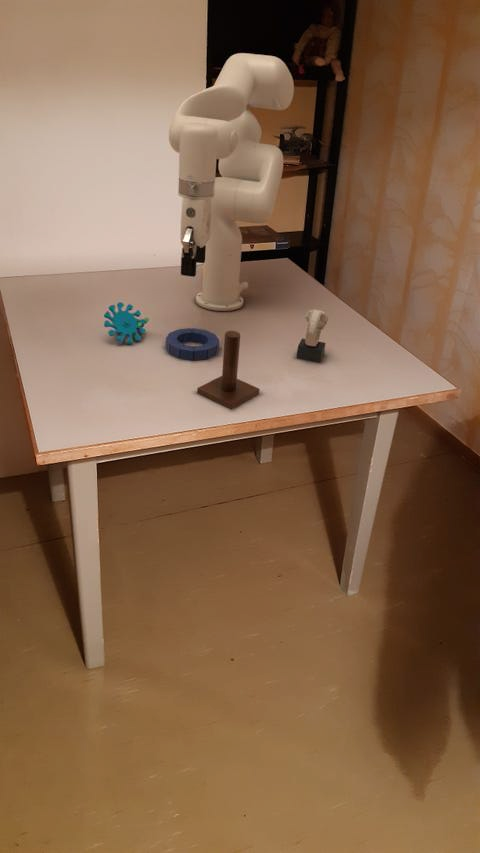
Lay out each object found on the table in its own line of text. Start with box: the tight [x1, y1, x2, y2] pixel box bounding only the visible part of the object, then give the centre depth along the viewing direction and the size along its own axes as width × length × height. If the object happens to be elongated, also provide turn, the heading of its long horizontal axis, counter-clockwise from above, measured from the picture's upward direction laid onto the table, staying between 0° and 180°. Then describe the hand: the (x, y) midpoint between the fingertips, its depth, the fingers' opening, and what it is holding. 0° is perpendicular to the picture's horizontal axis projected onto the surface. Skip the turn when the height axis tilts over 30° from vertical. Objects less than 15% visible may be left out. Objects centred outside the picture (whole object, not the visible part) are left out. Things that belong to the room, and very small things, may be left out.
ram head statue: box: [296, 309, 329, 364], centre depth 150 cm, size 6×8×11 cm
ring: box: [165, 327, 220, 362], centre depth 152 cm, size 12×12×2 cm
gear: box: [103, 301, 150, 345], centre depth 154 cm, size 11×6×10 cm
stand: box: [196, 330, 261, 410], centre depth 132 cm, size 9×9×13 cm
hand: (193, 268), depth 148 cm, fingers open, 9 cm apart
